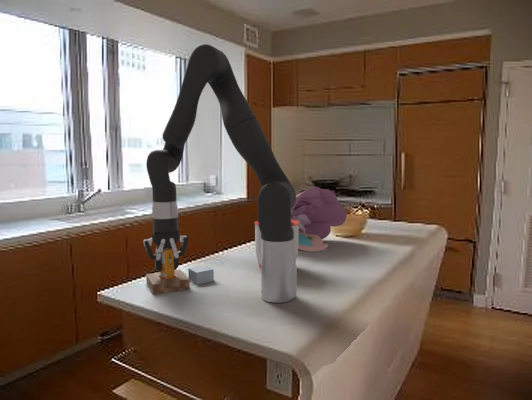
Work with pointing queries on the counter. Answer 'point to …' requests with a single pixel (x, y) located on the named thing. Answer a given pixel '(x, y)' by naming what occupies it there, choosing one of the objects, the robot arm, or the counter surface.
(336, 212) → the flower arrangement
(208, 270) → the wide block
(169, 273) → the supplement box
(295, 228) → the citrus juicer
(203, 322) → the counter surface
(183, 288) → the hole plate
